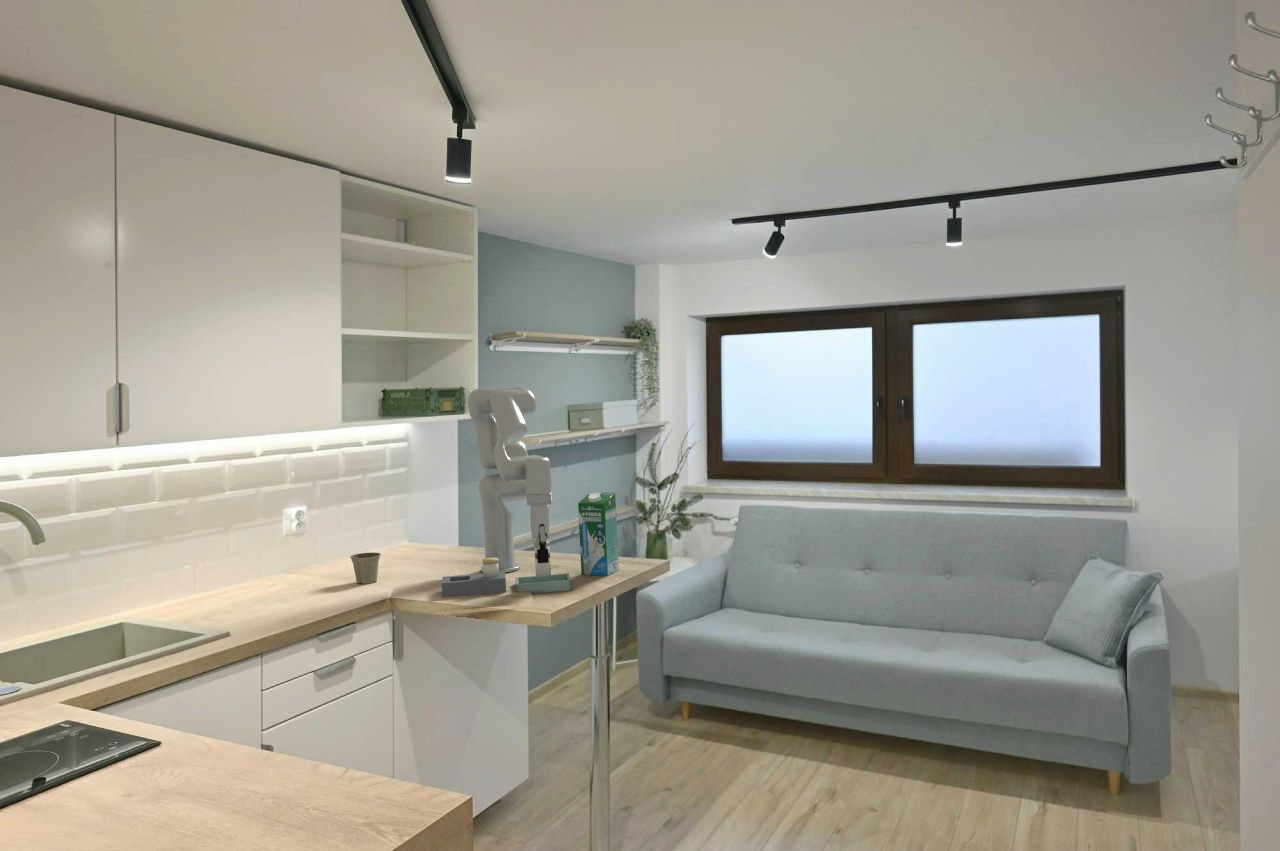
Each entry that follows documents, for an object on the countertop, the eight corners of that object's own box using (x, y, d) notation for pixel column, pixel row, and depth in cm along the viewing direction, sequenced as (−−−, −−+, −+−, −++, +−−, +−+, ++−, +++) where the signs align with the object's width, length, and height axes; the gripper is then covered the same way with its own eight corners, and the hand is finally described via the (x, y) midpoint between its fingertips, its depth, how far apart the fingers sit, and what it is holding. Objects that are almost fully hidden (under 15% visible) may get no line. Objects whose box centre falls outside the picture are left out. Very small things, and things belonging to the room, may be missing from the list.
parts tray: (515, 587, 265) (515, 577, 265) (569, 583, 268) (568, 573, 268) (517, 594, 255) (516, 584, 255) (572, 590, 258) (571, 580, 258)
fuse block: (443, 593, 261) (442, 559, 260) (505, 588, 264) (504, 555, 263) (442, 600, 252) (440, 565, 252) (506, 595, 255) (504, 561, 255)
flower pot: (388, 581, 282) (386, 554, 282) (361, 586, 275) (359, 559, 275) (372, 577, 288) (371, 551, 288) (345, 583, 281) (344, 556, 281)
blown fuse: (535, 574, 263) (533, 540, 262) (550, 573, 264) (548, 539, 263) (536, 577, 258) (534, 543, 258) (551, 576, 259) (550, 542, 259)
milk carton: (581, 574, 279) (577, 495, 278) (593, 568, 287) (589, 492, 286) (607, 575, 275) (603, 495, 274) (618, 569, 284) (615, 492, 283)
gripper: (525, 497, 268) (528, 557, 268) (527, 503, 251) (531, 567, 252) (550, 495, 269) (553, 555, 270) (554, 501, 252) (557, 565, 253)
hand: (542, 560), depth 261 cm, fingers closed on blown fuse, 4 cm apart
